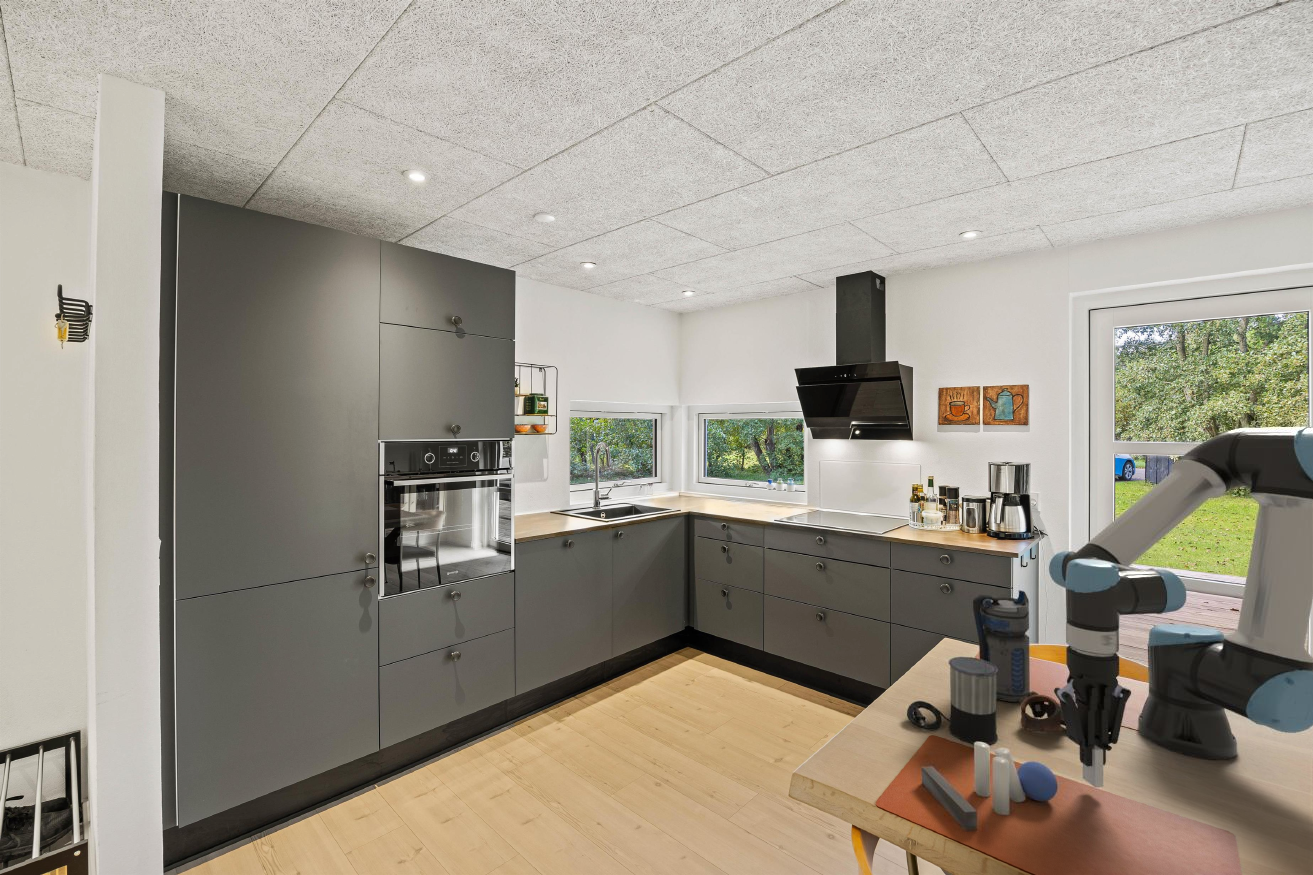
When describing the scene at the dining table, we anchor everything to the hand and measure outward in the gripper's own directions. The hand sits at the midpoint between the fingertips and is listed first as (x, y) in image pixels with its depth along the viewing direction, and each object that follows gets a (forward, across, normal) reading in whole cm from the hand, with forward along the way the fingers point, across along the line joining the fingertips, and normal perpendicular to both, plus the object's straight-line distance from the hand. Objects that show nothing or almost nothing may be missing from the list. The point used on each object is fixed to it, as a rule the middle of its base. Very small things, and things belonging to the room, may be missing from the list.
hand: (1092, 782), depth 105 cm
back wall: (+2, -27, 0) cm, 27 cm away
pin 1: (+2, -19, +2) cm, 19 cm away
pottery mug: (+2, +8, +22) cm, 24 cm away
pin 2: (+2, -19, -2) cm, 19 cm away
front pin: (+2, -14, 0) cm, 14 cm away
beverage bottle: (+2, +10, +38) cm, 39 cm away
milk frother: (+2, -11, +24) cm, 27 cm away
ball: (-1, -11, 0) cm, 11 cm away
